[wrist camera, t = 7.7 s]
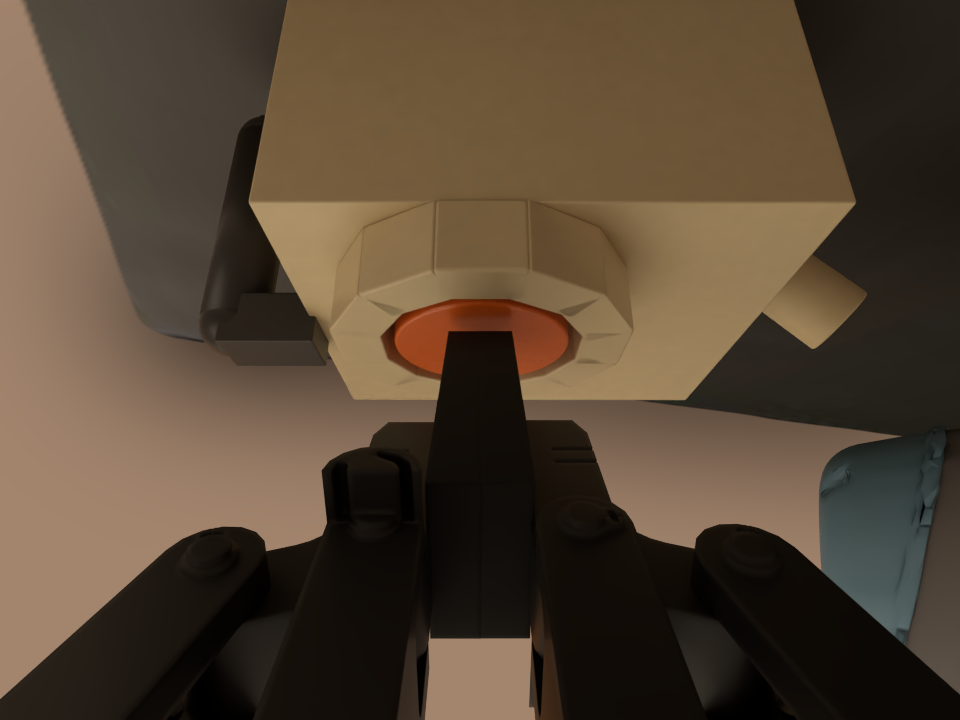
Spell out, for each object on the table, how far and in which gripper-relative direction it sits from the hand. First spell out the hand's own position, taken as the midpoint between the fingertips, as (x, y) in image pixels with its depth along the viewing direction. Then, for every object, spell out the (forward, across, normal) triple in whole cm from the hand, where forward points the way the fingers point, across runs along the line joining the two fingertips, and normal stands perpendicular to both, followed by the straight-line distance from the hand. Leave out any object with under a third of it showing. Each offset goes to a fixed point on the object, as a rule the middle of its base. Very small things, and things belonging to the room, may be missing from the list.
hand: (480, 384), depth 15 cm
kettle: (+11, -2, -7) cm, 13 cm away
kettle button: (+2, 0, -2) cm, 3 cm away
